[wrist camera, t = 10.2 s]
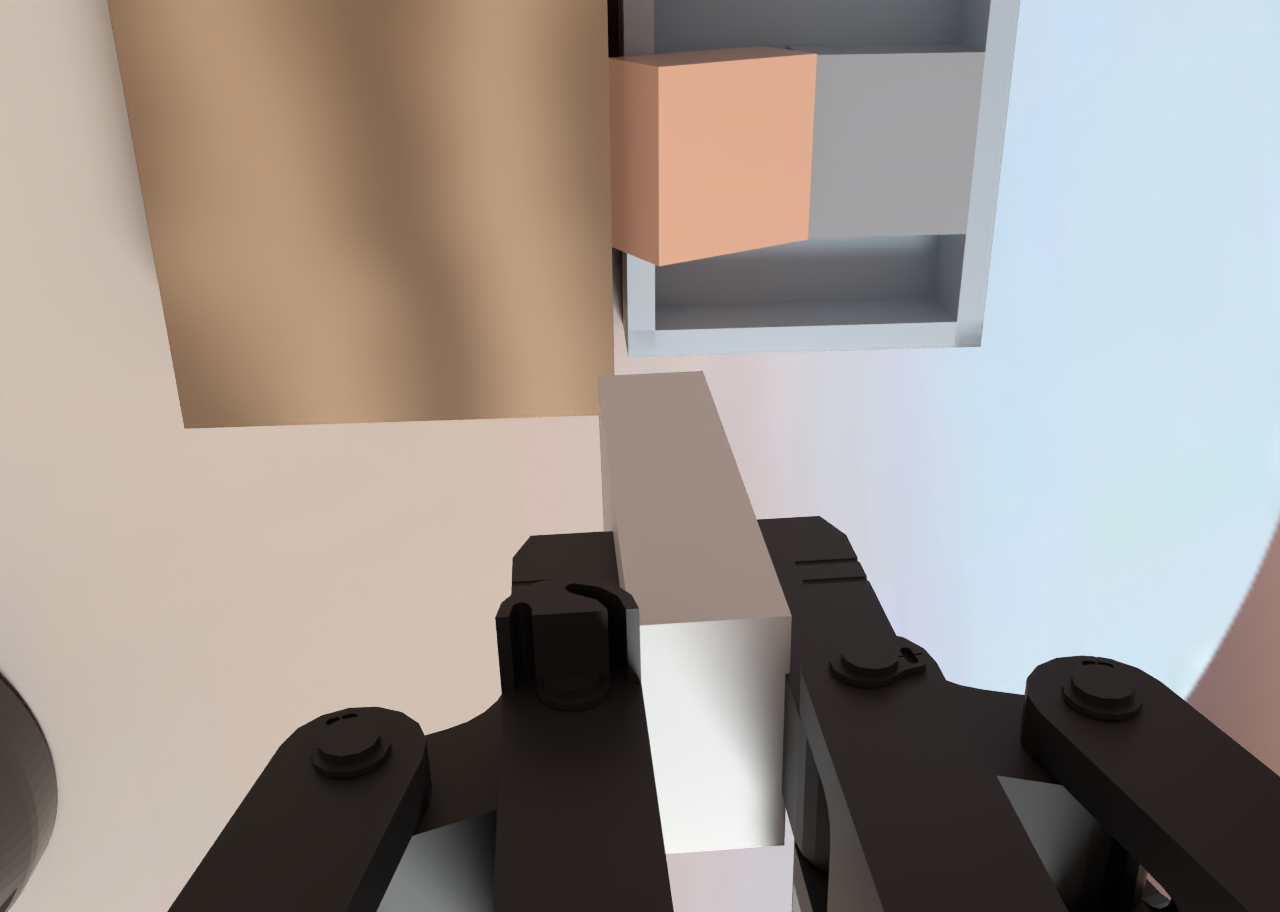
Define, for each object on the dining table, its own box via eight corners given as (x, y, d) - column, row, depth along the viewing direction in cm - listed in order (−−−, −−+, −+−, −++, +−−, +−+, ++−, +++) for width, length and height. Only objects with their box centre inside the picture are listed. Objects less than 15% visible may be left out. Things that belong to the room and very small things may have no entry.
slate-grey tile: (966, 233, 35) (941, 214, 37) (985, 52, 33) (957, 42, 35) (794, 238, 34) (779, 217, 37) (802, 55, 32) (786, 45, 35)
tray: (623, 325, 38) (628, 356, 36) (616, -89, 33) (622, -89, 31) (950, 315, 39) (980, 346, 36) (992, -93, 34) (1030, -92, 31)
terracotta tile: (610, 246, 33) (659, 266, 32) (606, 58, 31) (658, 67, 29) (754, 222, 36) (808, 239, 34) (759, 45, 34) (817, 53, 32)
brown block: (229, 366, 38) (184, 428, 34) (150, -125, 32) (83, -131, 28) (608, 355, 39) (614, 414, 34) (597, -129, 33) (604, -135, 28)
